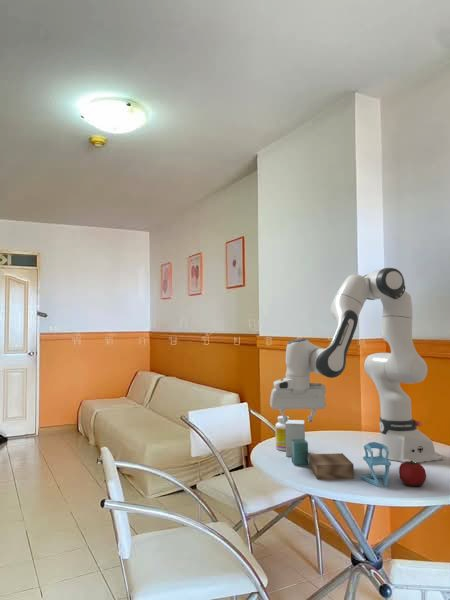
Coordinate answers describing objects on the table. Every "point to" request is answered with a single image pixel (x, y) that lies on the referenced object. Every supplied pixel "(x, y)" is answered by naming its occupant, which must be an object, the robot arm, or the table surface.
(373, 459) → the chair
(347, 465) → the walnut block
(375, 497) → the table surface
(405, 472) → the tomato
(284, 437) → the supplement bottle
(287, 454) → the supplement box
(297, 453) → the spice tin
